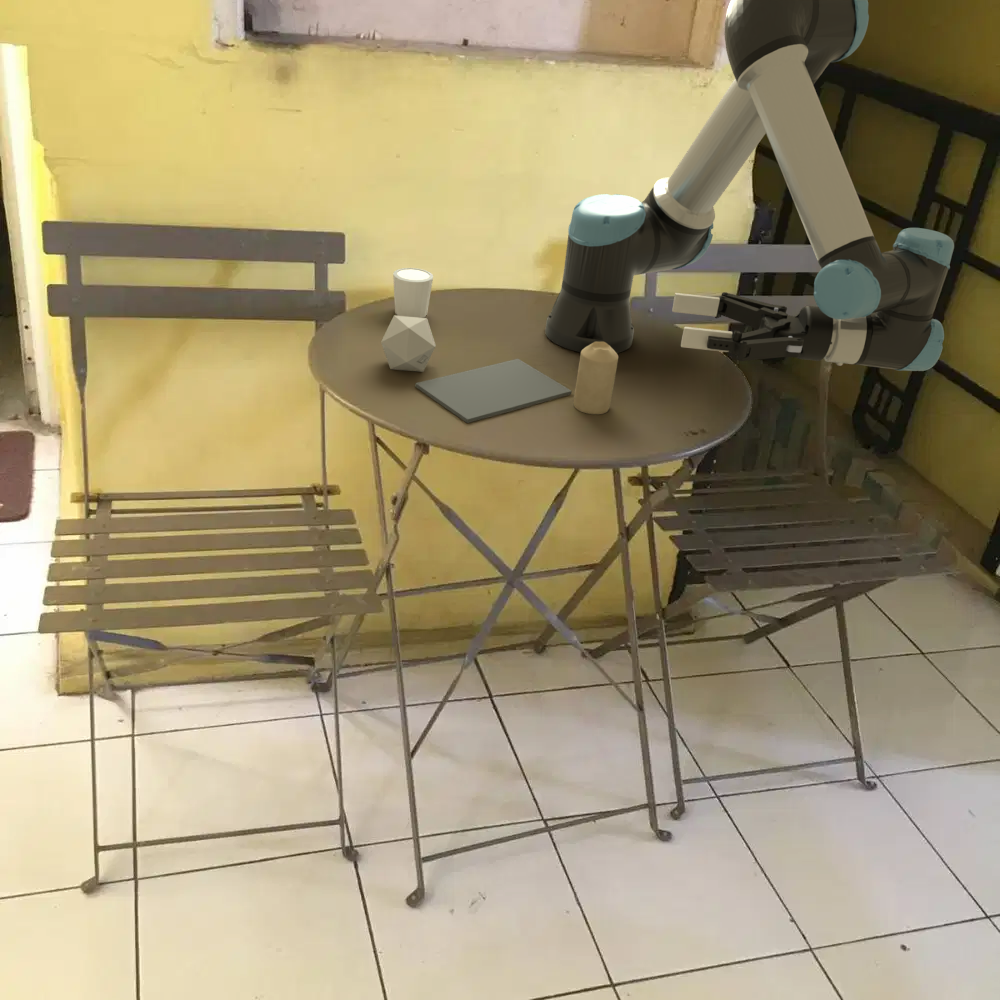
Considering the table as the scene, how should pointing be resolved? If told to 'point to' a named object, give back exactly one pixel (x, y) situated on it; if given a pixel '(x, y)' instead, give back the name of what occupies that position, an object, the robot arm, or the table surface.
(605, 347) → the candle
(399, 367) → the die
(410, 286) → the shot glass
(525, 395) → the mat
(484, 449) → the table surface
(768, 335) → the robot arm
